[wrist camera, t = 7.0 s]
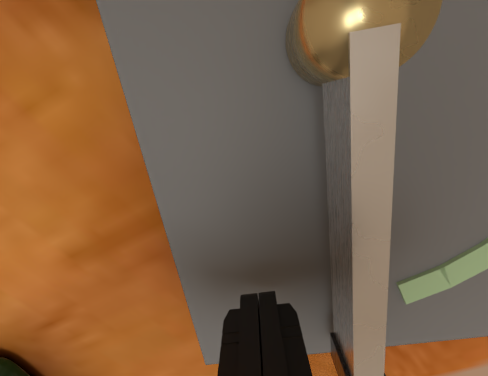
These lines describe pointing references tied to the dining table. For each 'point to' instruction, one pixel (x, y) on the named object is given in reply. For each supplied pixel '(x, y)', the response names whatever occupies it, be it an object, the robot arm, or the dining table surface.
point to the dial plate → (304, 165)
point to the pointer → (358, 151)
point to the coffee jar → (10, 368)
